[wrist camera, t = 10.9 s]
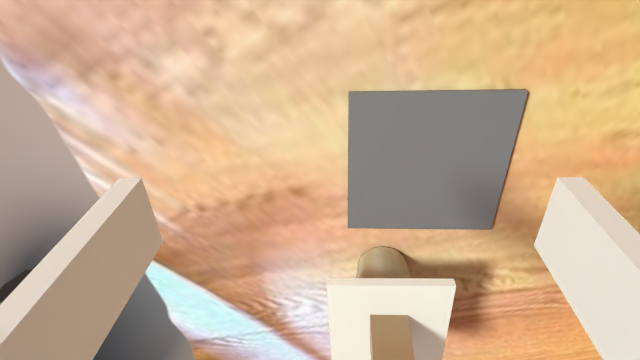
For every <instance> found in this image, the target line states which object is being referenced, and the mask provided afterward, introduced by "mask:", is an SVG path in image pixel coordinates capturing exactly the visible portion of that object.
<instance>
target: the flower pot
mask: <svg viewBox="0 0 640 360" xmlns="http://www.w3.org/2000/svg"><path fill="white" fill-rule="evenodd" d="M356 278H412V277H411V275H410V272H409V269H408V267H407V264H406V261H405V258H404V257H403V256H402V255H401V254H400V253H399V252H398V251H397V250H395V249H392V248H389V247H376V248H372V249H371V250H370V251H368V252H367V253H365V254H363V255H362V256H361V257H360V259H359V261H358V268H357V276H356Z"/></svg>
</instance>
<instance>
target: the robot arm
mask: <svg viewBox="0 0 640 360" xmlns="http://www.w3.org/2000/svg"><path fill="white" fill-rule="evenodd" d="M162 243H163V239H162V236H161V234H160V231H159V228H158V225H157V222H156V219H155V216H154V213H153V210H152V207H151V204H150V202H149V199H148V196H147V193H146V190H145V187H144V184H143V181H142V178H119V179H118V180H117V181H116V182H115V183H114V184H113V185H112V186H111V187H110V188H109V189H108V191H107V192H106V193H105V194H104V195H103V196H102V197H101V198H100V199H99V200H98V201H97V202H96V203H95V204H94V205H93V207H92V208H91V209H90V210H89V211H88V212H87V213H86V214H85V215H84V216H83V217H82V218H81V219H80V220H79V221H78V223H77V224H76V225H75V226H74V227H73V228H72V229H71V230H70V231H69V232H68V233H67V234H66V235H65V236H64V237H63V238H62V240H61V241H60V242H59V243H58V244H57V245H56V246H55V247H54V248H53V249H52V250H51V251H50V252H49V253H48V254H47V255H46V257H45V258H44V259H43V260H42V261H41V262H40V263H39V264H38V265H37V266H36V267H35V268H34V269H33V270H25V271H24V272H22V273H21V274H19V275H18V276H17V277H15V278H13V279H12V280H10V281H9V282H7V283H6V284H5V285H4V286H3V287H2V288H1V289H0V360H93V358H94V356H95V355H96V353H97V351H98V350H99V348H100V346H101V345H102V343H103V341H104V339H105V338H106V336H107V335H108V333H109V331H110V330H111V328H112V326H113V324H114V323H115V321H116V320H117V318H118V316H119V315H120V313H121V311H122V309H123V308H124V306H125V305H126V303H127V301H128V300H129V298H130V296H131V295H132V293H133V291H134V290H135V288H136V286H137V285H138V283H139V281H140V279H141V278H142V276H143V274H144V273H145V271H146V270H147V268H148V266H149V265H150V263H151V261H152V260H153V258H154V256H155V255H156V253H157V251H158V250H159V248H160V246H161V245H162ZM534 247H535V248H536V250H537V252H538V253H539V255H540V256H541V258H542V260H543V261H544V263H545V265H546V266H547V268H548V270H549V271H550V273H551V275H552V276H553V278H554V280H555V281H556V283H557V285H558V286H559V288H560V289H561V291H562V293H563V294H564V296H565V298H566V299H567V301H568V303H569V304H570V306H571V308H572V309H573V311H574V313H575V314H576V316H577V318H578V319H579V321H580V322H581V324H582V326H583V327H584V329H585V331H586V332H587V334H588V336H589V337H590V339H591V341H592V342H593V344H594V346H595V347H596V349H597V351H598V352H599V354H600V355H601V357H602V359H603V360H640V234H639V233H638V232H637V231H636V230H635V229H634V228H633V227H632V226H631V225H630V224H629V223H628V222H627V221H626V220H625V219H624V218H623V217H622V216H621V215H620V214H619V212H618V211H617V210H616V209H615V208H614V207H613V206H612V205H611V204H610V203H609V202H608V201H607V200H606V199H605V198H604V197H603V196H602V195H601V194H600V193H599V192H598V191H597V190H596V189H595V188H594V187H593V186H592V185H591V184H590V183H589V182H588V181H587V180H586V179H585V178H584V177H558V178H557V181H556V184H555V186H554V189H553V192H552V195H551V198H550V201H549V204H548V206H547V209H546V212H545V215H544V218H543V221H542V224H541V226H540V229H539V232H538V235H537V238H536V241H535V244H534Z"/></svg>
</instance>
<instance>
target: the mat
mask: <svg viewBox="0 0 640 360" xmlns="http://www.w3.org/2000/svg"><path fill="white" fill-rule="evenodd" d="M527 94H528V91H527V90H526V89H503V90H428V91H353V92H349V133H348V228H383V229H479V230H491V228H492V225H493V221H494V217H495V213H496V210H497V206H498V202H499V198H500V195H501V191H502V187H503V184H504V180H505V176H506V172H507V169H508V165H509V161H510V157H511V154H512V150H513V146H514V142H515V139H516V135H517V131H518V128H519V124H520V120H521V116H522V113H523V109H524V105H525V101H526V98H527Z"/></svg>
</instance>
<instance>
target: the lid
mask: <svg viewBox="0 0 640 360" xmlns="http://www.w3.org/2000/svg"><path fill="white" fill-rule="evenodd" d="M455 290H456V284H455V281H454V279H431V278H327V299H328V314H329V329H330V343H331V358H332V360H442V357H443V352H444V346H445V341H446V336H447V331H448V326H449V321H450V316H451V310H452V305H453V300H454V295H455Z"/></svg>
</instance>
